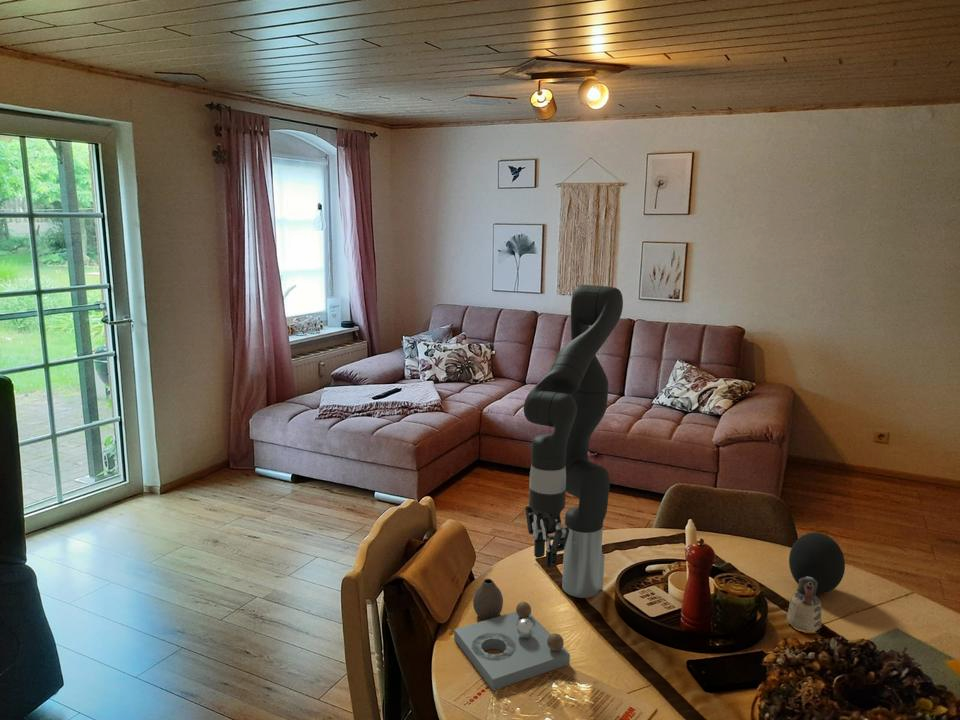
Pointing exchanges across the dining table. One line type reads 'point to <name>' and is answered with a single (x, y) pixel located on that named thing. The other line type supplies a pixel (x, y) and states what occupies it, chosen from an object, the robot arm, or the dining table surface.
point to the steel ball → (525, 628)
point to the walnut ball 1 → (523, 609)
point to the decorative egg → (817, 561)
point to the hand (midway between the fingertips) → (544, 560)
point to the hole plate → (508, 650)
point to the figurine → (805, 606)
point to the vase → (488, 600)
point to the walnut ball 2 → (555, 642)
